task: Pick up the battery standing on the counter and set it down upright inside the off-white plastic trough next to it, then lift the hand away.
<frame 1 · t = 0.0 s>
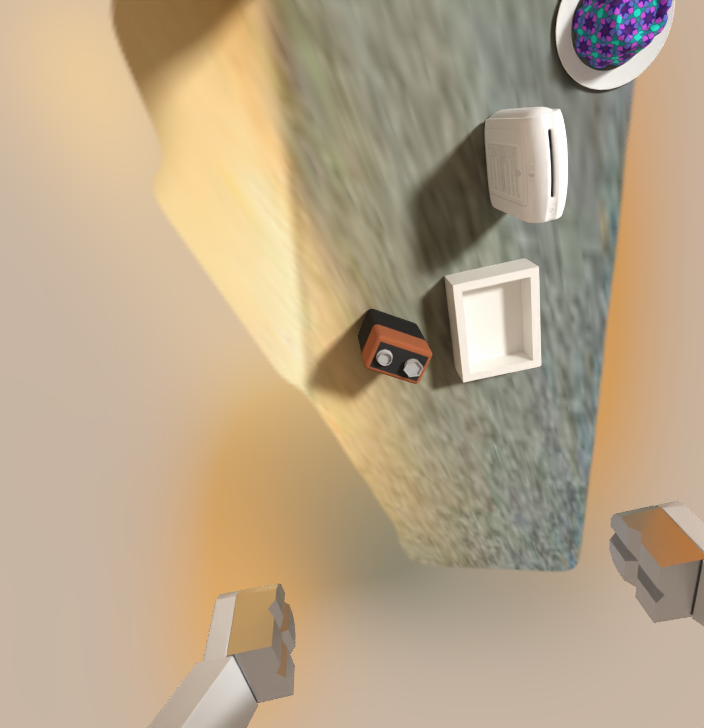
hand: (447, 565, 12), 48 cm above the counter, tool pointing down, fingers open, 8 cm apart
pudding: (609, 22, 48), on the counter
battery: (387, 329, 61), on the counter
photo printer: (502, 161, 53), on the counter
trough: (488, 316, 61), on the counter
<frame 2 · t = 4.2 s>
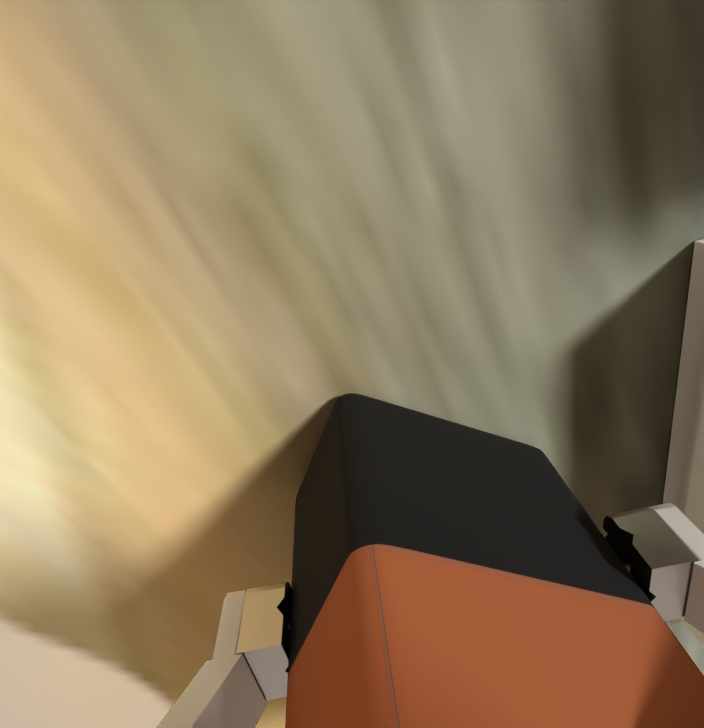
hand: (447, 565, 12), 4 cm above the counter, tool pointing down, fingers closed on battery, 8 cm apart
battery: (416, 466, 15), on the counter, touching gripper
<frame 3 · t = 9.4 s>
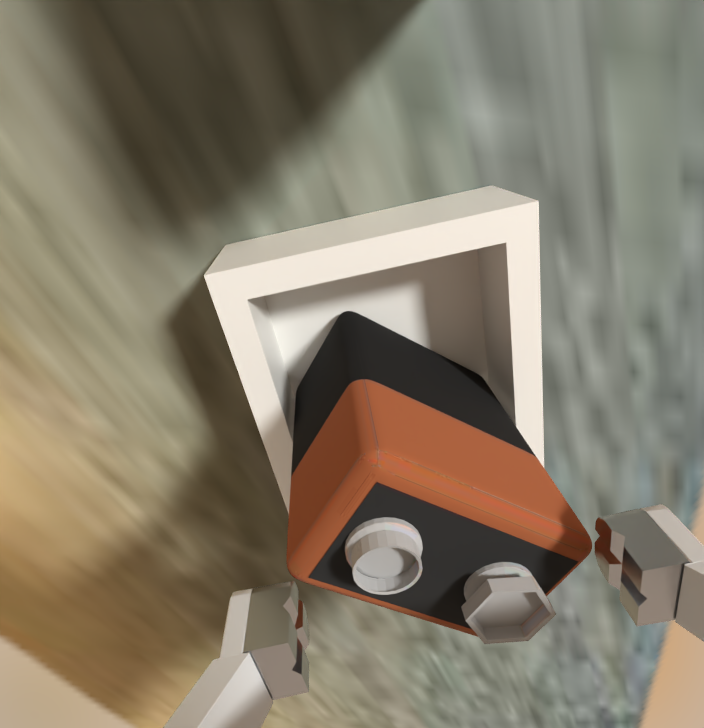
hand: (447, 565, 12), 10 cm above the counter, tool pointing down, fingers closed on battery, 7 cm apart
battery: (389, 380, 20), point 1 cm above the counter, touching gripper, trough
trough: (387, 368, 20), on the counter
when the fingers open (7 cm above the counter, at t = 11.2 s): battery stays where it is, resting on trough.
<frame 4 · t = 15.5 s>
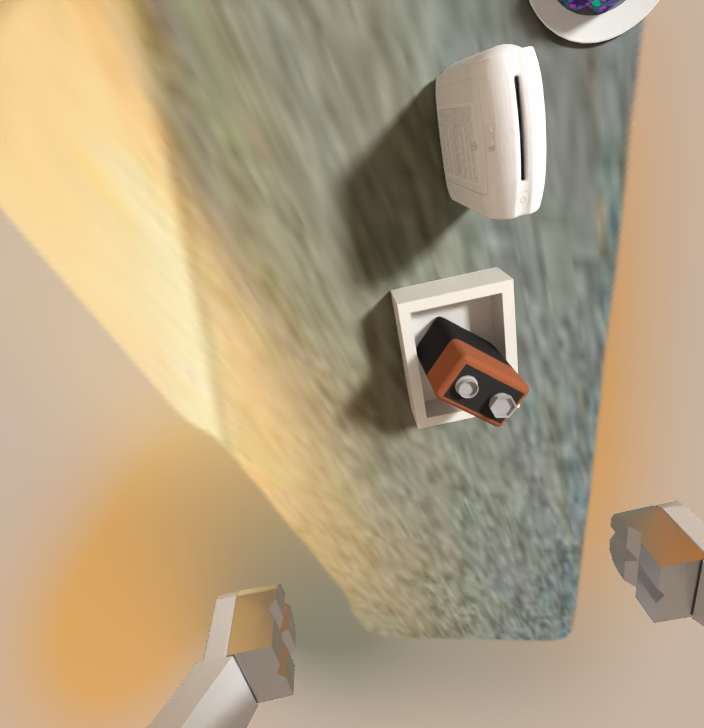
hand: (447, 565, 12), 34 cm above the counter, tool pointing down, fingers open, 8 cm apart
battery: (452, 346, 46), point 1 cm above the counter, touching trough
photo printer: (462, 135, 39), on the counter
trough: (450, 341, 47), on the counter
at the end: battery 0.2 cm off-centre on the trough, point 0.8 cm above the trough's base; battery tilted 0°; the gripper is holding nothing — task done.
